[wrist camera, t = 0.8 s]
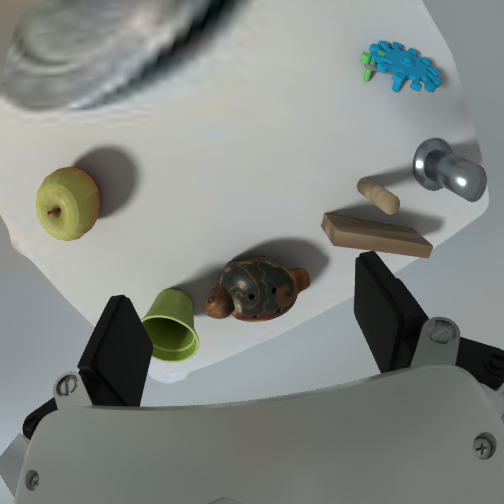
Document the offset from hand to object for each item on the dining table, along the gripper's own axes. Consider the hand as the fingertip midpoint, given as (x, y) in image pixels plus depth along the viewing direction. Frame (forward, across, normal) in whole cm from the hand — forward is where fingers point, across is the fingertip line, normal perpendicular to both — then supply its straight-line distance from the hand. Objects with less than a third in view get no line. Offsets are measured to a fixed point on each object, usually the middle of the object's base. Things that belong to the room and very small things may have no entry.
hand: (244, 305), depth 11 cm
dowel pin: (+28, -17, +6) cm, 33 cm away
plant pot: (+28, +14, +20) cm, 37 cm away
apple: (+28, +23, -1) cm, 36 cm away
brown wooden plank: (+28, -18, +12) cm, 35 cm away
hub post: (+28, -29, +4) cm, 40 cm away
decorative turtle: (+28, +1, +17) cm, 32 cm away
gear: (+28, -22, -11) cm, 38 cm away
